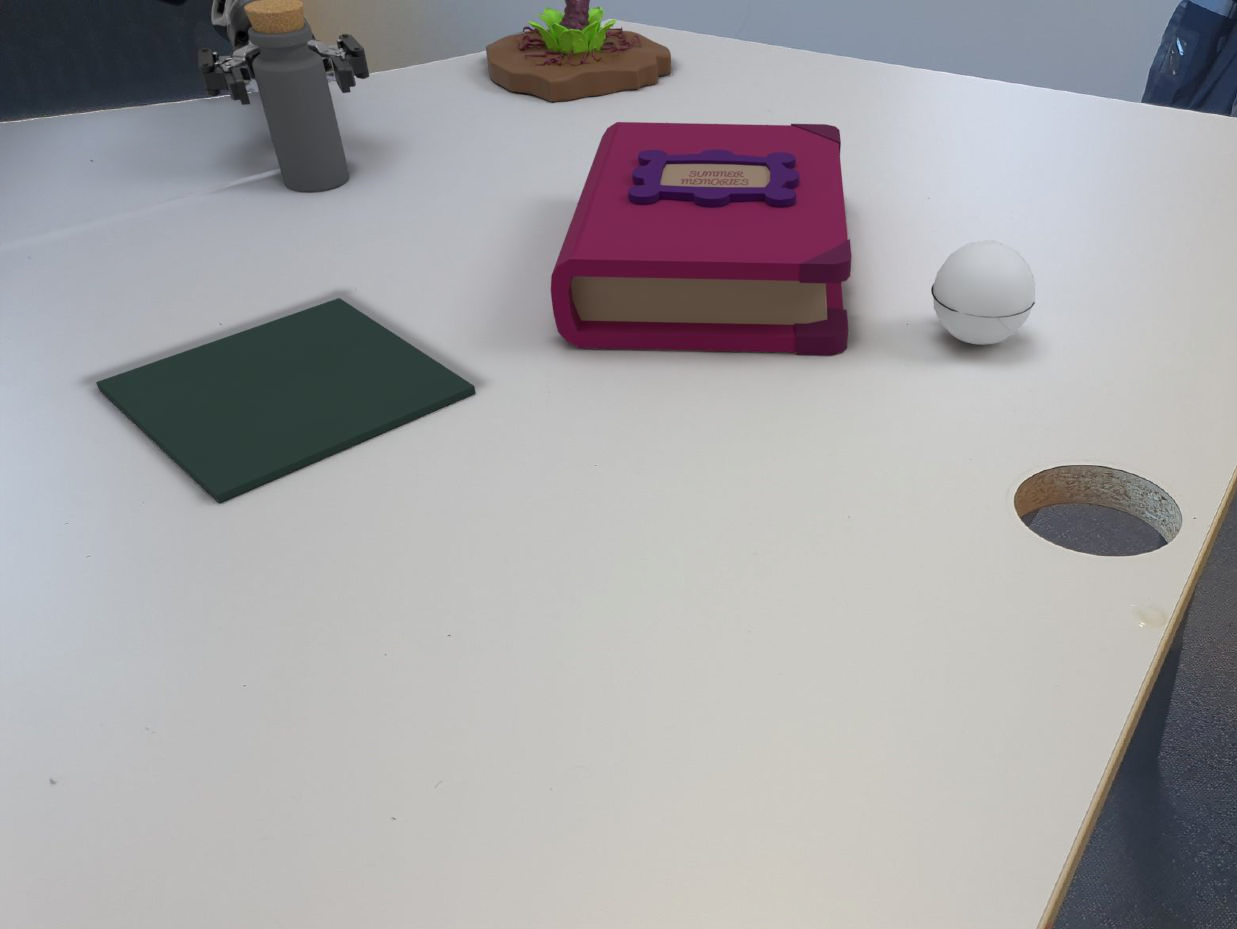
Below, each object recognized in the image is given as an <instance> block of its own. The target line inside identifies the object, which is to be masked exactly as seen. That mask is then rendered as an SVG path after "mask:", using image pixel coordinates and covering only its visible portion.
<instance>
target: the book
mask: <svg viewBox="0 0 1237 929" xmlns="http://www.w3.org/2000/svg"><path fill="white" fill-rule="evenodd" d="M841 145H842V142H841V130H840V129H839V128H838V127H837V126H835V125H831V124H825V123H790V124H789V125H788V124H786V125H785V124H744V123H742V124H739V123H737V124H736V123H688V122H687V123H686V122H683V123H682V122H643V121H642V122H639V121H638V122H637V121H616V122H614V123H613V124H612V125H610V126H609V127H607V128H606V130H605V131H604V132H603V134H602V136H601V139H600V141H599V144H598V147H597V149H596V152H595V155H594V157H593V160H592V163H591V166H590V169H589V172H588V175H587V177H586V180H585V182H584V185H583V188H582V191H581V194H580V195H579V199H578V201H577V204H576V207H575V210H574V213H573V216H572V218H571V220H570V223H569V226H568V229H567V232H566V234H565V236H564V237H565V238H564V240H563V241H562V242H563V243H562V245H561V248H560V251H559V253H558V256H557V259H556V262H555V265H554V267H553V270H552V273H551V276H550V297H551V305H552V314H553V318H554V322H555V325H556V331H557V333H559V335H560V336H561V337H562V338H563V339H564V340H565V342H567V343H568V344H571V345H573V346H575V347H577V348H578V349H604V350H605V349H610V350H655V351H656V350H657V351H658V350H659V351H707V352H755V353H756V352H757V353H758V352H759V353H765V352H766V353H795V355H796V356H830V357H831V356H835V355H839V354H842V353H844V352H845V351H846V349H847V348H848V341H849V340H848V339H849V321H848V310H847V309H845V308H844V301H843V288H842V283H843V282H847V280H848V279H850V277H851V272H852V259H853V258H852V248H851V246H852V245H851V239H850V238H849V237H848V235H849V234H848V226H847V216H846V206H845V204H846V203H845V194H844V184H843V183H844V182H843V174H842V172H843V171H842V164H841V163H842V162H841Z"/></svg>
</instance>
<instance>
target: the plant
mask: <svg viewBox="0 0 1237 929" xmlns="http://www.w3.org/2000/svg"><path fill="white" fill-rule="evenodd" d="M590 2H591V0H564V3H565V7H564V9H563V13H561V12H560V11H558V10H556V9H553V8H550V7H548V6H546V7H545V8H544V10H543V13H544V14H542V13H538V17H539V19H540V20H541V21H543V22H544V23H545V24H546V26H547V28H548V29H545V28H544V27H543V26H542V25H541V24H539V23H538V22H535V21H531V20H528V21H527V23H528V24H529V25H531V27H532V28H531V27H530V26H528V25H526V26H523V27H522V31H519V32H518V33H513V34H509V35H507V36H504V37H502V38H499V39H497V40H496V41H494V42H492V43H490V44H488V45H485V52H486V59H487V66H488V73H489V78H490V79H491V80H492V82H494V83H496V85H499V86H501V87H502V88H504V89H506V90H508V91H510V92H512V93H520V94H528V95H533V96H536V97H538V98H541V99H543V100H545V101H548V102H550V103H555V102H563V101H564V102H565V101H573V100H577V99H578V100H579V99H581V98H582V99H583V98H588V97H598V96H605V95H609V94H614V93H617V92H621V91H629V90H632V91H633V90H639V89H640V88H641V87H646V86H653V85H656V84H658V82H659V77H660V76H661V77H663V76H668V75H670V74H671V73H672V54H671V51H670V49H669V48H668V47H667V46H665V45H663V44H660V43H658V42H656V41H654V40H651V38H648V37H646V36H644V35H642V34H640V33H638V32H636V31H631V30H623V27H622V26H621V27H620V28H618V27H617V28H612V27H614V25H615V24H616V22H617V21H618V20H617V19H612V20H609V21H608V22H607V23H605V24H604V25H603V26H602V25H601V24H602V18H604V15H605V11H604V10H603V9H602V7H601V6H597V7H593V8H591V9H590ZM601 26H602V27H601ZM525 30H528V31H525Z"/></svg>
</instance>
